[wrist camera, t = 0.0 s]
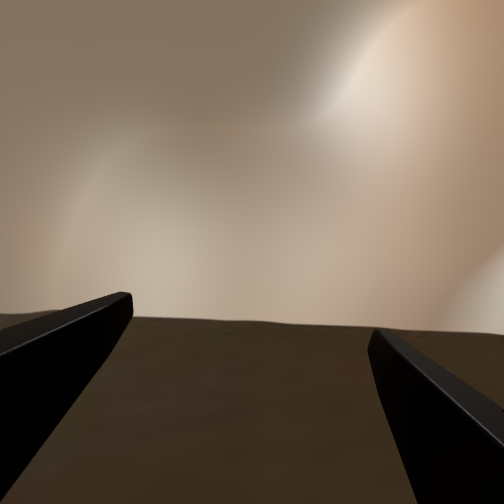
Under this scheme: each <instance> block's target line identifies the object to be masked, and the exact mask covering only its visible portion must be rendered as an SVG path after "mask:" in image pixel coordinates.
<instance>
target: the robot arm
mask: <svg viewBox="0 0 504 504" xmlns="http://www.w3.org/2000/svg"><path fill="white" fill-rule="evenodd" d="M132 316H133V300H132V295H131V294H130V293H127V292H117V293H113V294H110V295H107V296H104V297H101V298H98V299H95V300H91V301H88V302H85V303H82V304H79V305H76V306H73V307H69V308H66V309H63V310H60V311H57V312H54V313H51V314H47V315H44V316H41V317H38V318H35V319H32V320H28V321H25V322H22V323H19V324H16V325H13V326H10V327H6V328H3V329H2V330H0V502H1V500H2V499H3V498H4V496H5V495H6V494H7V492H8V491H9V490H10V488H11V487H12V486H13V484H14V483H15V482H16V480H17V479H18V477H19V476H20V475H21V473H22V472H23V471H24V469H25V468H26V467H27V465H28V464H29V463H30V461H31V460H32V459H33V457H34V456H35V455H36V453H37V452H38V451H39V449H40V448H41V446H42V445H43V444H44V442H45V441H46V440H47V438H48V437H49V436H50V434H51V433H52V432H53V430H54V429H55V428H56V426H57V425H58V424H59V422H60V421H61V420H62V418H63V417H64V416H65V414H66V413H67V411H68V410H69V409H70V407H71V406H72V405H73V403H74V402H75V401H76V399H77V398H78V397H79V395H80V394H81V393H82V391H83V390H84V389H85V387H86V386H87V385H88V383H89V382H90V380H91V379H92V378H93V376H94V375H95V374H96V372H97V371H98V370H99V368H100V367H101V366H102V364H103V363H104V362H105V360H106V359H107V358H108V356H109V355H110V353H111V352H112V350H113V349H114V347H115V345H116V344H117V342H118V340H119V339H120V337H121V335H122V334H123V332H124V330H125V329H126V327H127V325H128V324H129V322H130V320H131V319H132ZM368 356H369V360H370V364H371V368H372V372H373V376H374V380H375V384H376V388H377V392H378V395H379V398H380V401H381V404H382V407H383V409H384V412H385V415H386V418H387V420H388V423H389V426H390V429H391V431H392V434H393V437H394V440H395V442H396V445H397V448H398V451H399V453H400V456H401V459H402V462H403V464H404V467H405V470H406V473H407V475H408V478H409V481H410V484H411V487H412V489H413V492H414V495H415V498H416V500H417V503H418V504H504V409H503V410H502V407H501V406H499V405H498V404H496V403H495V402H493V401H492V400H490V399H489V398H487V397H486V396H484V395H483V394H481V393H480V392H478V391H477V390H476V389H474V388H473V387H471V386H470V385H468V384H467V383H465V382H464V381H462V380H461V379H459V378H458V377H456V376H455V375H453V374H452V373H450V372H449V371H448V370H446V369H445V368H443V367H442V366H440V365H439V364H437V363H436V362H434V361H433V360H431V359H430V358H428V357H427V356H425V355H424V354H422V353H421V352H420V351H418V350H417V349H415V348H414V347H412V346H411V345H409V344H408V343H406V342H405V341H403V340H402V339H400V338H399V337H397V336H396V335H394V334H393V333H392V332H390V331H389V330H386V329H379V328H376V329H374V330H373V333H372V336H371V339H370V342H369V345H368Z"/></svg>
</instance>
